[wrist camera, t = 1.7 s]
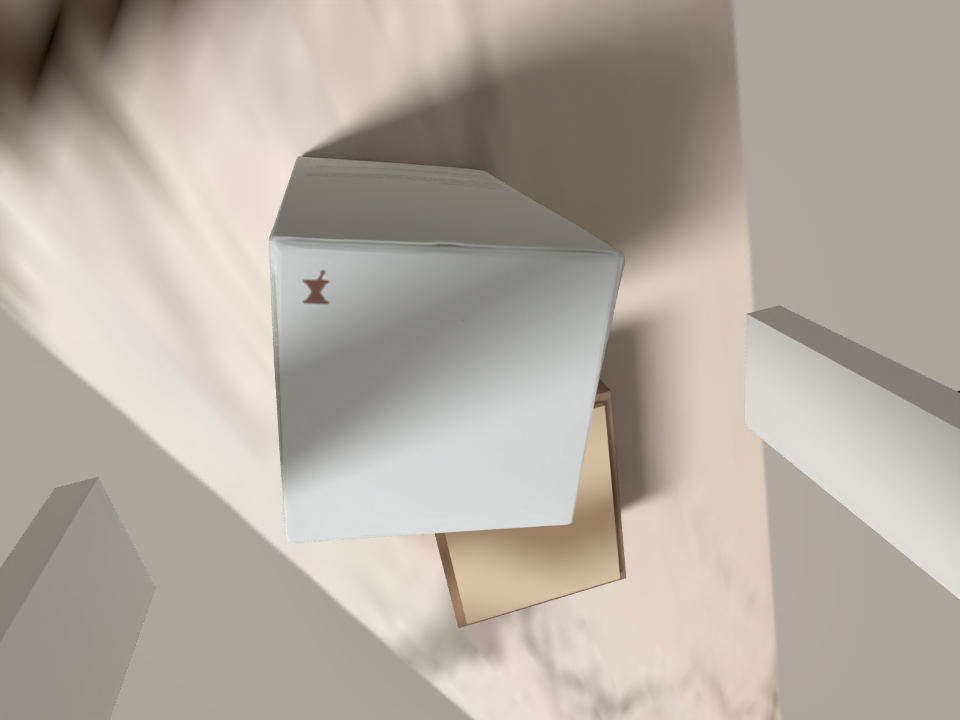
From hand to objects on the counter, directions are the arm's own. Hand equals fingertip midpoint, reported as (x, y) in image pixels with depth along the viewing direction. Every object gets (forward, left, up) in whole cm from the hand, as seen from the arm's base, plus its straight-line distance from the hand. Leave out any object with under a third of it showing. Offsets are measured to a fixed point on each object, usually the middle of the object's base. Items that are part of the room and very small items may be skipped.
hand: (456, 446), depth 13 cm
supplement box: (0, 0, -14) cm, 14 cm away
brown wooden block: (+11, +3, -14) cm, 18 cm away
